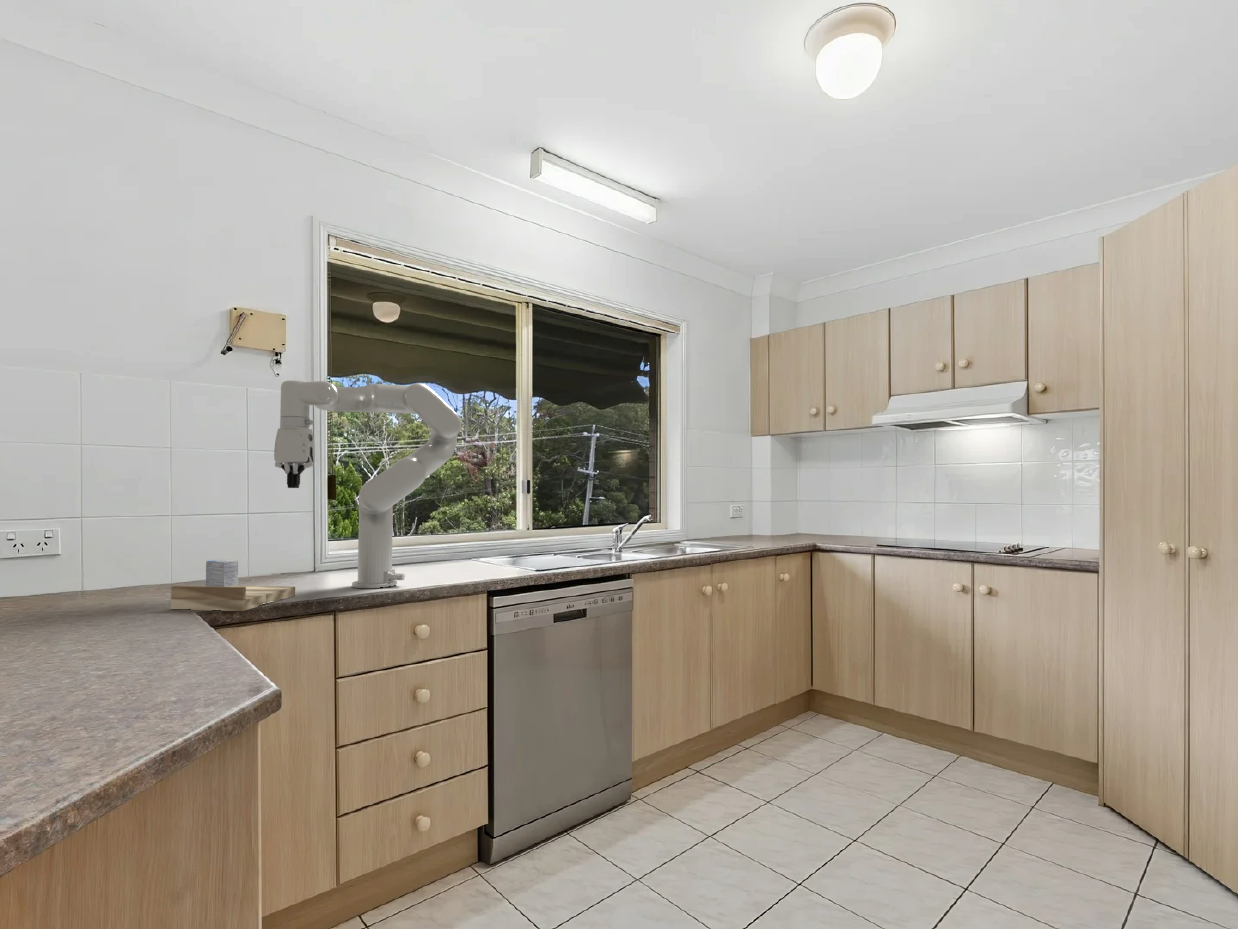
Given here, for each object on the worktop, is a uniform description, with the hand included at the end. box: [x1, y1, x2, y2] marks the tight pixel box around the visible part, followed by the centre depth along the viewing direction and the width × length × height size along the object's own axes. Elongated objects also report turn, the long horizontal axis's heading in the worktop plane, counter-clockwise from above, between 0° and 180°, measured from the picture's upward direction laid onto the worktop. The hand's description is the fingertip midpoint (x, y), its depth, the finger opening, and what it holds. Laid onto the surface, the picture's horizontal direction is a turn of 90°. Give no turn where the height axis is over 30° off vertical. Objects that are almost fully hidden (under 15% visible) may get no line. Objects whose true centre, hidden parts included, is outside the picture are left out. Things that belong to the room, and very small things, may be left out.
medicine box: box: [205, 558, 239, 587], centre depth 187 cm, size 8×4×9 cm, turn 65°
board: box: [170, 585, 296, 612], centre depth 169 cm, size 22×18×6 cm
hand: (293, 487), depth 190 cm, fingers closed
